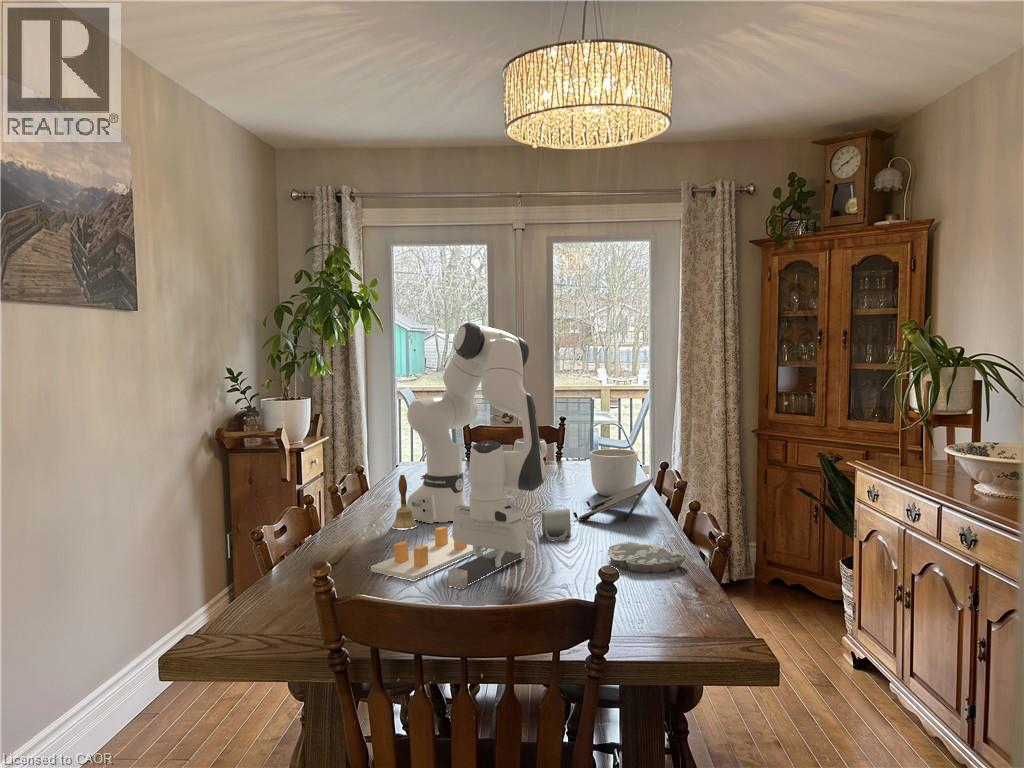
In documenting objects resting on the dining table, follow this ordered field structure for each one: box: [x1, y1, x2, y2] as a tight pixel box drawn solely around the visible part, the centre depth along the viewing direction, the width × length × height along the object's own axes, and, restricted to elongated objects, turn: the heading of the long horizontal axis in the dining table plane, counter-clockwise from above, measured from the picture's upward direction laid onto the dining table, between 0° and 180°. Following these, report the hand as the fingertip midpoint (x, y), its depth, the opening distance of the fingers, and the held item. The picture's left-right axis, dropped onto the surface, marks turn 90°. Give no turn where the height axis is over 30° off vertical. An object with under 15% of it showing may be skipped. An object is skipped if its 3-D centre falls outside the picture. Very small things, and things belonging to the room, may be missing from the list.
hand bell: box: [391, 474, 419, 528], centre depth 216 cm, size 8×8×16 cm
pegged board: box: [370, 526, 485, 580], centre depth 184 cm, size 14×30×6 cm, turn 147°
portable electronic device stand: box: [572, 477, 654, 522], centre depth 224 cm, size 23×23×9 cm
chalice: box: [512, 437, 548, 477], centre depth 289 cm, size 14×14×15 cm
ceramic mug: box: [541, 508, 572, 542], centre depth 203 cm, size 11×8×8 cm
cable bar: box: [447, 549, 526, 589], centre depth 174 cm, size 4×27×4 cm, turn 147°
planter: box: [589, 448, 639, 497], centre depth 255 cm, size 17×17×15 cm
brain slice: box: [607, 541, 686, 574], centre depth 178 cm, size 20×17×3 cm
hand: (489, 564), depth 174 cm, fingers closed on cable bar, 3 cm apart
